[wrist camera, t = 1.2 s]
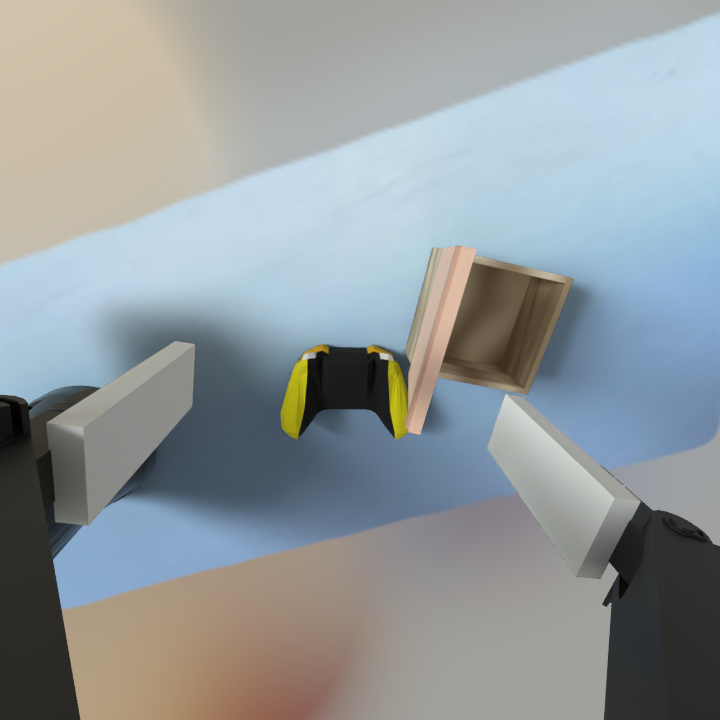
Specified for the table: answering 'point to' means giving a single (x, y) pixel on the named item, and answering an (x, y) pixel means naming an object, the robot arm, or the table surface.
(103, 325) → the table surface
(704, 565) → the robot arm
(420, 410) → the lid
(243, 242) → the table surface
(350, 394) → the gaming controller
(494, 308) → the box
